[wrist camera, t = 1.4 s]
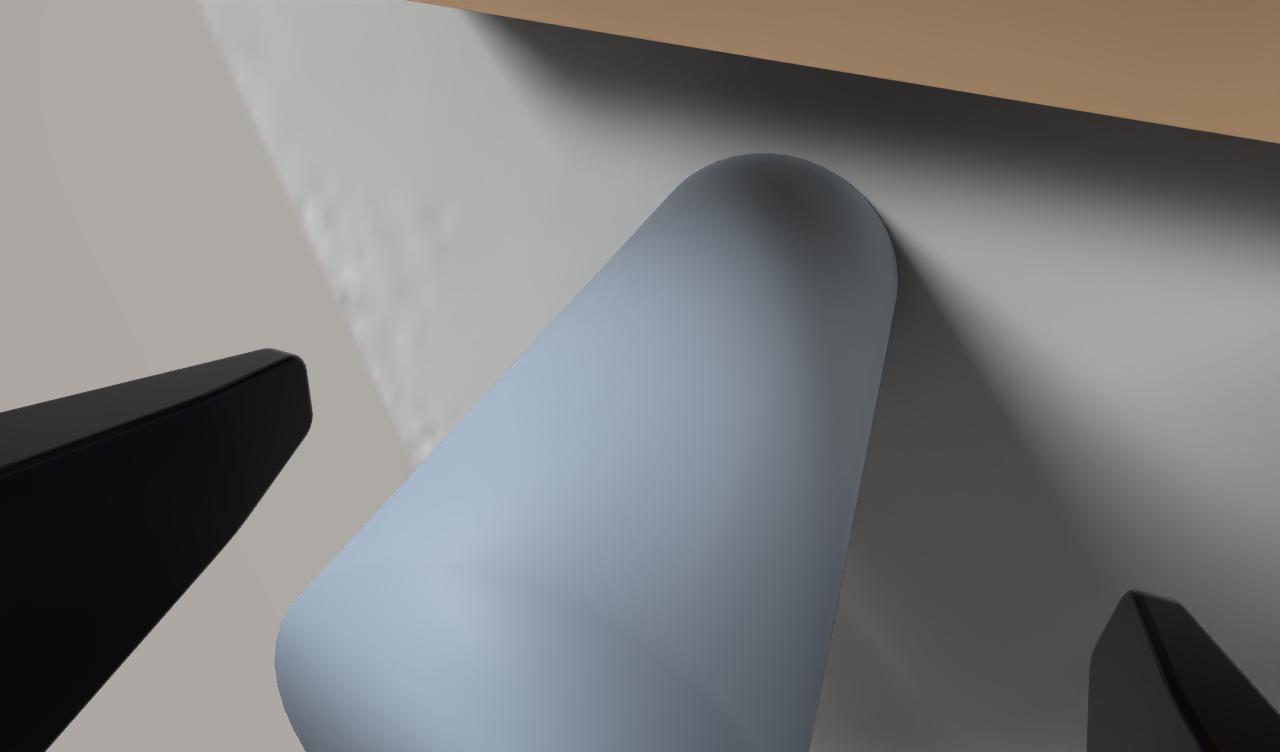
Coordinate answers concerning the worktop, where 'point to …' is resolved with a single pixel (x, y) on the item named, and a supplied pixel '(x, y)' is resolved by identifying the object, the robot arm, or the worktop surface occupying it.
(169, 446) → the robot arm
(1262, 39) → the socket board
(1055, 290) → the worktop surface
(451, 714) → the peg
